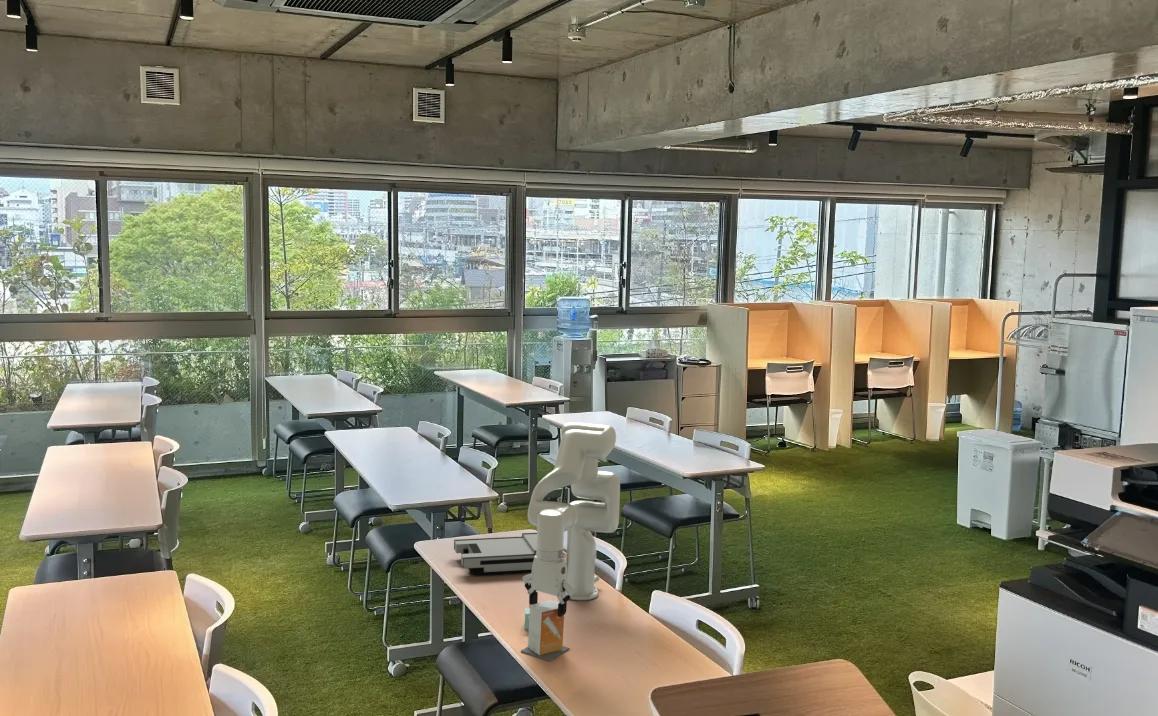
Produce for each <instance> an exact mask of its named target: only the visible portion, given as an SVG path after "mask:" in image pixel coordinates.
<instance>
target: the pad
mask: <svg viewBox="0 0 1158 716" xmlns="http://www.w3.org/2000/svg"><path fill="white" fill-rule="evenodd" d="M569 650H570V647H568V646H564V645H562V650H559V651H555V652H551V653H547V654H543V655H538V654H536V653H535V652H533V651H532V650H531V649H529V648H528V646H526V647H525V648H523V649H521V650H520V653H523V654H525V655H529V656H531V657H534V658H538V659H541V660H545V661H547V662H552V661H553V660H555V659H556V658H558V657H560V656H562V654H564V653H566V652H567V651H569Z"/></svg>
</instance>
